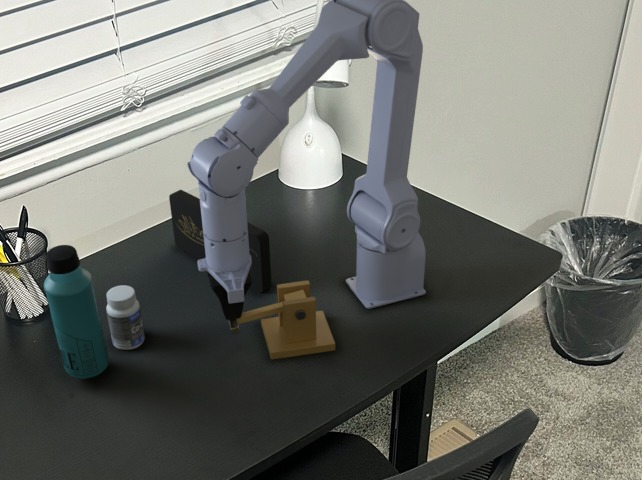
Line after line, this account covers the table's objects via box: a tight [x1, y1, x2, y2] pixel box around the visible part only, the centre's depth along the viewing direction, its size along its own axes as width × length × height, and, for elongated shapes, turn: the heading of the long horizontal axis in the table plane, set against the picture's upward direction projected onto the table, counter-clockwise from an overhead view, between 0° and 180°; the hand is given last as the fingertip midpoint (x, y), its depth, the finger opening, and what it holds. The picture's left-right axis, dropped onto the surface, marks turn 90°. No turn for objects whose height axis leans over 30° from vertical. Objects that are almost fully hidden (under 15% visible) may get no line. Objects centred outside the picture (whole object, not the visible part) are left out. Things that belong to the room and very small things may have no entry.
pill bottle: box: [105, 284, 146, 351], centre depth 129 cm, size 5×5×8 cm
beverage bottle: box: [43, 244, 110, 379], centre depth 121 cm, size 6×7×20 cm
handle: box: [228, 290, 306, 336], centre depth 126 cm, size 11×5×2 cm, turn 95°
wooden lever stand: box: [260, 279, 336, 360], centre depth 127 cm, size 9×8×8 cm
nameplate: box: [168, 189, 273, 294], centre depth 142 cm, size 21×2×10 cm, turn 41°
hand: (232, 316), depth 125 cm, fingers closed
